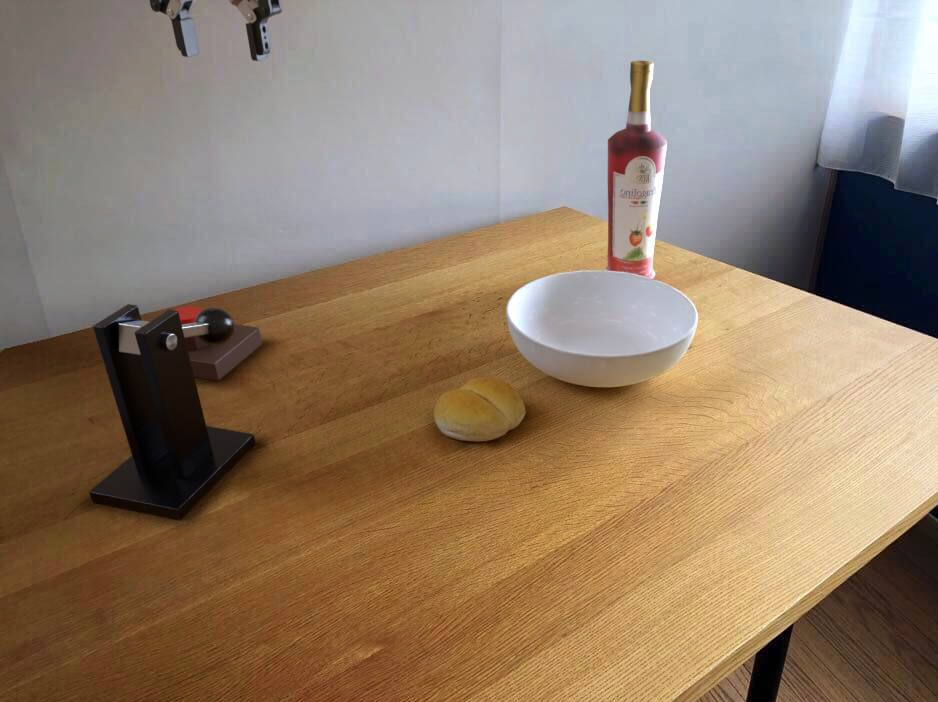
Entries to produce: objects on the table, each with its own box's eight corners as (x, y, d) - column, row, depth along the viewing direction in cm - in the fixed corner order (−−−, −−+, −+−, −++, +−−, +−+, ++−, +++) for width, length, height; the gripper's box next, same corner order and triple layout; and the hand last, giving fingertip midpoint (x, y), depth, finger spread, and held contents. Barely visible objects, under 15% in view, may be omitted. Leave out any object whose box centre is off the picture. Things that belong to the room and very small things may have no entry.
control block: (124, 366, 96) (115, 334, 94) (174, 331, 104) (166, 300, 102) (218, 381, 94) (210, 348, 92) (262, 344, 101) (256, 313, 99)
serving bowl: (507, 414, 88) (506, 355, 84) (507, 322, 106) (506, 270, 102) (708, 410, 89) (716, 352, 85) (675, 320, 106) (680, 268, 103)
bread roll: (419, 423, 87) (416, 389, 85) (486, 391, 92) (484, 358, 90) (472, 457, 82) (470, 421, 80) (540, 421, 87) (540, 387, 85)
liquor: (650, 270, 120) (666, 56, 105) (660, 292, 113) (679, 68, 99) (598, 272, 119) (606, 57, 104) (605, 294, 113) (616, 69, 98)
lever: (209, 340, 84) (210, 303, 83) (241, 345, 83) (242, 308, 83) (111, 357, 72) (110, 314, 71) (148, 363, 71) (148, 320, 70)
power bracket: (176, 429, 86) (137, 283, 77) (256, 444, 83) (225, 295, 75) (92, 502, 76) (36, 343, 67) (180, 520, 74) (134, 359, 65)
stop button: (164, 331, 96) (161, 317, 95) (184, 318, 99) (181, 304, 98) (192, 336, 95) (189, 321, 94) (211, 321, 98) (208, 308, 97)
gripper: (278, -118, 86) (301, 55, 94) (155, -119, 89) (188, 48, 98) (235, -117, 80) (265, 68, 88) (105, -118, 83) (146, 60, 92)
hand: (225, 57), depth 93 cm, fingers open, 8 cm apart
